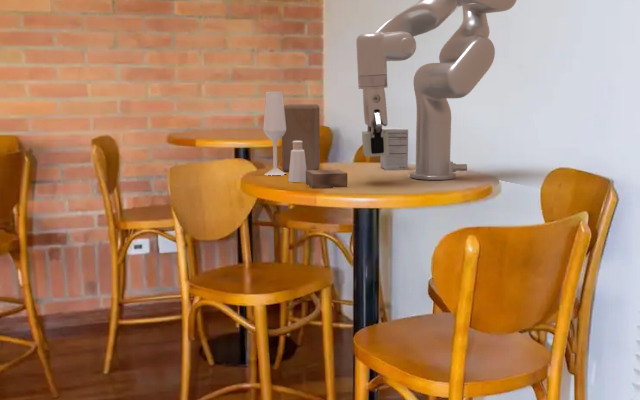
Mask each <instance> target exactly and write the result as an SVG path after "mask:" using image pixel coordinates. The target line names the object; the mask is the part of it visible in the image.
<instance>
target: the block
mask: <svg viewBox="0 0 640 400" xmlns="http://www.w3.org/2000/svg"><path fill="white" fill-rule="evenodd" d="M284 111H285V121H286V132H285V134H284V135H283V136H282V137H281V168H282V169H281V170H282V171H283V170H284V171H283V172H289V167H290V156H291V151H292V150H293V143H292V142H293V141H303V144H302V146H303V147H302V150H304V152H305V161H306V170H319V169H320V167H321V166H320V165H321V163H320V162H321V161H320V160H321V159H320V157H321V155H320V153H321V152H320V151H321V148H320V147H321V146H320V143H321V142H320V135H321V134H320V132H321V131H320V128H321V127H320V126H321V125H320V121H321V120H320V119H321V118H320V106H319V104H315V103H313V104H312V103H305V104H304V103H299V104H298V103H296V104H295V103H290V104H284Z"/></svg>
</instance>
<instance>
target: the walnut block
mask: <svg viewBox="0 0 640 400" xmlns="http://www.w3.org/2000/svg"><path fill="white" fill-rule="evenodd" d="M306 184H307V185H306ZM305 185H306V186H308V185H309V186H310V188H311V187H312V188H311V189H313V188H322V189H334V188H333V187H347V188H348V172H345V171H343V170H342V169H340V168H339V169H338V168H336V169H316V170H306V182H305ZM309 186H308V187H309Z"/></svg>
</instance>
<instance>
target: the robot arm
mask: <svg viewBox="0 0 640 400" xmlns="http://www.w3.org/2000/svg"><path fill="white" fill-rule="evenodd" d="M516 3H517V0H418V2H417V3H415V4H413V5H411V6H409V7H408V8H406V9H405V10H403V11H402V12H399V13H398V14H396V15H395V16H393V17H392V18H390V19H389V20H387V21H385V22H384V23H383V24H382V25H381V26H380V27H379V28H377V30H376V31H375V32H373V33H372V32H371V33H362V34H359V35H358V36H357V38H356V39H355V40H356V43H355V44H356V62H357V82H358V84H357V85H358V90H362V99H363V100H362V102H363V103H362V105H363V115H364V116H363V117H364V124H365V125H366V126H367V131H371V133H372V138H371V153H372V154H376V153H384V141H383V131H382V128H383V127H387V126H388V113H387V112H388V111H387V101H386V100H387V99H386V91H385V88H386V89H387V88H388V69H387V68H388V66H387V65H388V64H387V62H401V61H406V60H408V59H410V58H412V57H413V55H414V54H415V52H416V50H417V41H416V39H415V38H414V37H416V36H419V35H423V34H425V33H428V32H431V31H433V30H435V29H437V28H438V27H439V26H441V25H442V24H443V23H444V22H445V21H446V20H447V19H448V18H449V17H450V16H451V15H453V13H454V12H455V11H457V9H458V8H460V7H462V15H463V16H462V17H463V18H462V22H461V24H460V25H459V27H458V29H456V31H455V32H454V33H453V34H452V35H451V36H450V38H449V39H448V41H446V42H445V44H444V45H443V46H442V48H441V49H440V52H439V55H438V60H439V62H429V63H426V64H424V65H422V66H420V67H419V68H418V69H417V70H416V72H415V73H414V76H413V91H414V95H415V101H416V102H415V103H416V126H415V127H416V130H415V131H416V132H415V134H416V135H415V136H416V137H415V171H411V172H410V173H409V177H410V178H412V179H415V180H429V181H439V180H440V181H443V180H452V179H455V178H456V172H458V171H460V172H467V171H468V164H466V163H456V162H455V163H454V162H453V161H451V144H452V143H451V140H452V139H451V137H452V135H451V133H452V111H451V110H452V109H451V107H450V104H449V101H448V99H462V98H464V97H466V96H467V95H469V94H470V93H471V92H472V91H473V90H474V88H475V87H476V86H477V85H478V83H479V82H480V81H481V80H482V78H483V77H484V76H485V75H486V74H487V72H488V71H489V69H490V68H491V67H492V65H493V63H494V60H495V54H496V49H495V45H494V43H493V41H492V40H491V39H490V38H489V36H490V28H489V27H490V26H489V23H488V18H487V14H492V13H500V12H502V13H503V12H506V11H509V10H511V9H512V8H513V7H514V6H515V5H516Z"/></svg>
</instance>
